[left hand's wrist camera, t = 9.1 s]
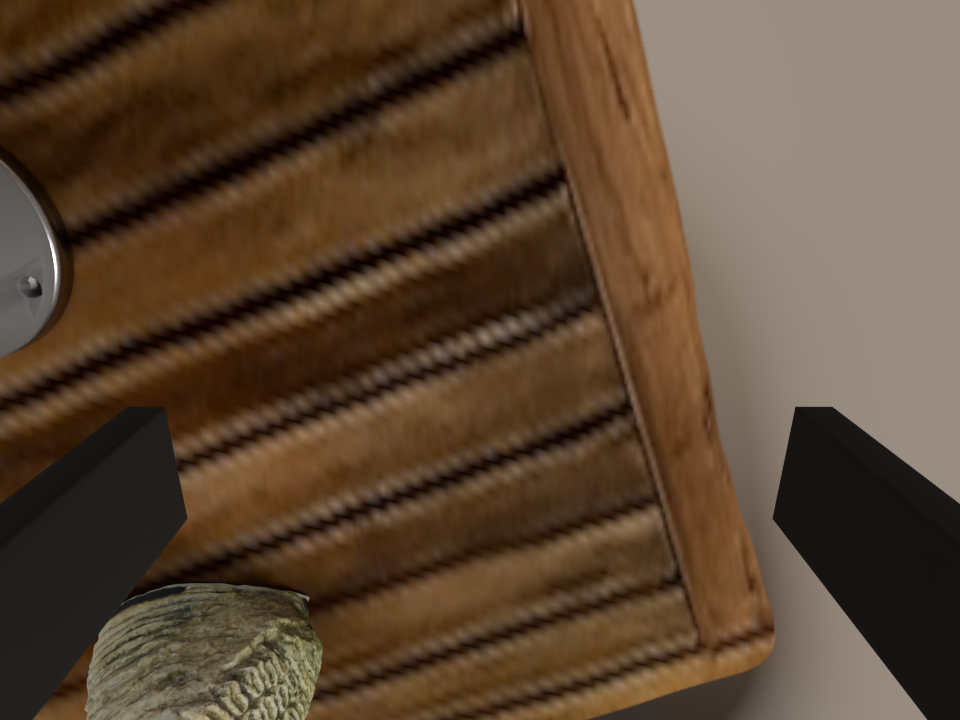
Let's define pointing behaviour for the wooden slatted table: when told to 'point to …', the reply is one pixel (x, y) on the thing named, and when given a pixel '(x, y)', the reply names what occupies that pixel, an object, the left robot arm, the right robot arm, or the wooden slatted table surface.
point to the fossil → (206, 656)
